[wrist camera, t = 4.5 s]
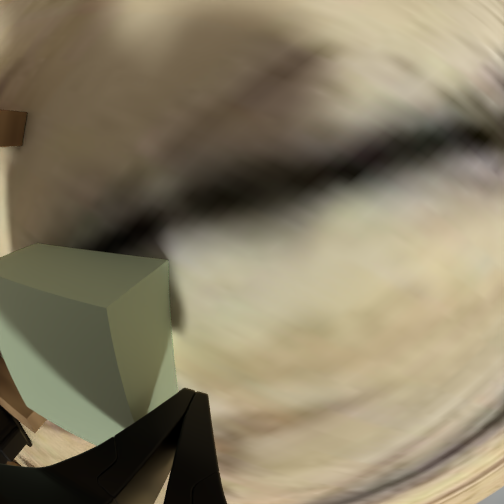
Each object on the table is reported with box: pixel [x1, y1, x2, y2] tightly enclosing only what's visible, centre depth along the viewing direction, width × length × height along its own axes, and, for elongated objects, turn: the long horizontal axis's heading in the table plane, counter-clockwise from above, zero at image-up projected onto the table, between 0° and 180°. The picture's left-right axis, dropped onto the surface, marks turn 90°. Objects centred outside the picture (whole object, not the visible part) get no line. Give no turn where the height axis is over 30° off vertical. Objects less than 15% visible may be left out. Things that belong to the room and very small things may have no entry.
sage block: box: [0, 243, 178, 446], centre depth 9 cm, size 7×7×4 cm
